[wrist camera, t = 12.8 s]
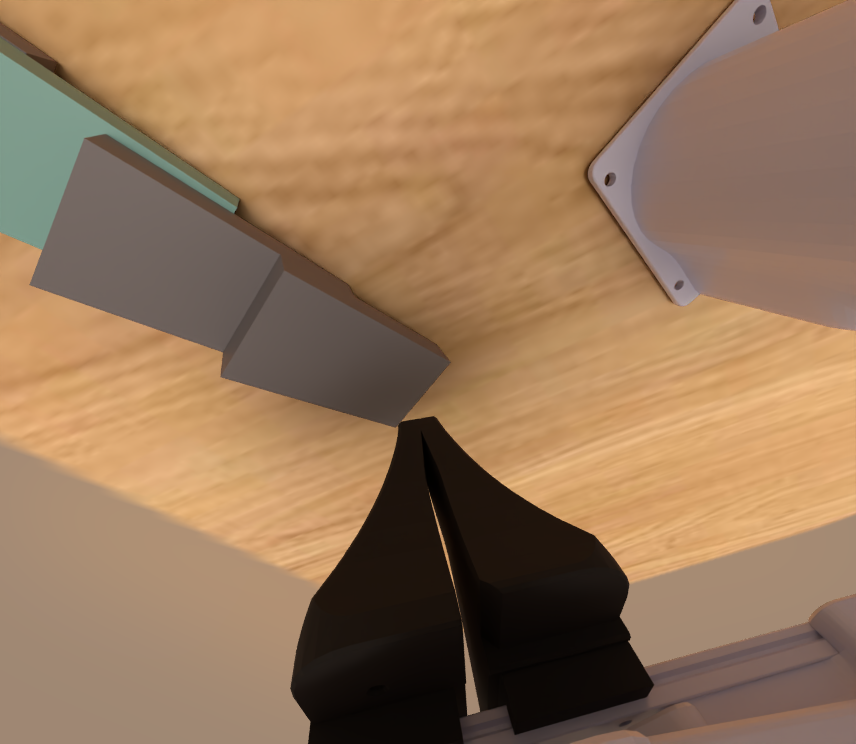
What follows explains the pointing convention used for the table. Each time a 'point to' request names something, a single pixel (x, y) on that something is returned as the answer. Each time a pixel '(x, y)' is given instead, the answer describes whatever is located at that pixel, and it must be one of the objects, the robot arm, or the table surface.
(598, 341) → the table surface
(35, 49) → the domino
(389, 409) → the domino
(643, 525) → the table surface
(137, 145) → the teal domino
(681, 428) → the table surface
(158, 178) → the domino
